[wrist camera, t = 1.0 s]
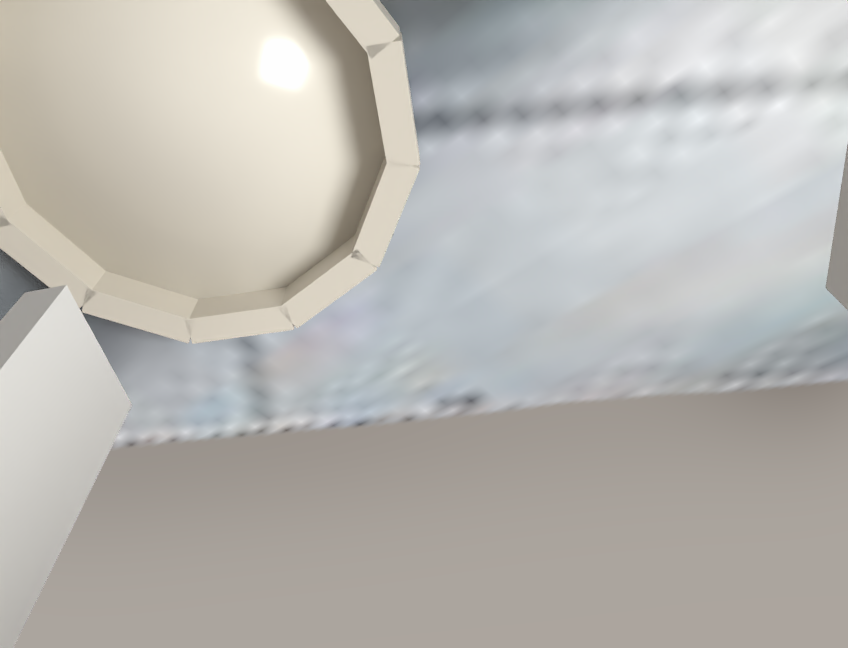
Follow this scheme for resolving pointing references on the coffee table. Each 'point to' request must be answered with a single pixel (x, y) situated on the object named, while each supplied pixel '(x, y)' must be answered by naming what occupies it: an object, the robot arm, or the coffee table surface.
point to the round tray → (203, 156)
